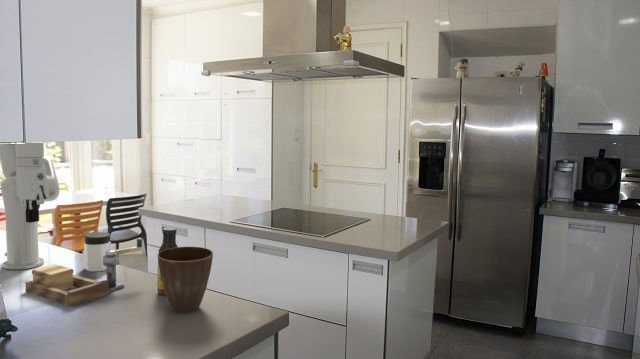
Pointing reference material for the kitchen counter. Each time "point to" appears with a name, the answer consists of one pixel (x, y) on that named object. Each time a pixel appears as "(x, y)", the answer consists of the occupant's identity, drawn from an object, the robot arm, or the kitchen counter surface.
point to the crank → (124, 250)
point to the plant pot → (185, 276)
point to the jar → (96, 250)
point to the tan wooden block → (54, 276)
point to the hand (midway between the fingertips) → (32, 221)
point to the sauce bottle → (168, 243)
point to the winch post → (112, 272)
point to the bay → (84, 292)
